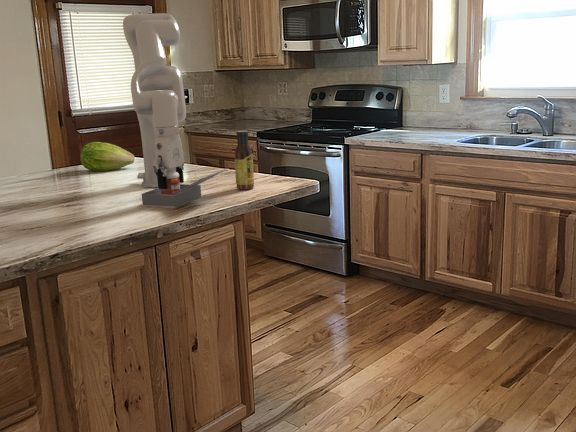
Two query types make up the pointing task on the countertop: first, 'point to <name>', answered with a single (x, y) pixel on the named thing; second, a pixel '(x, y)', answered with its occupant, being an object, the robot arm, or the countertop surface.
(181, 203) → the box
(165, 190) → the pill bottle
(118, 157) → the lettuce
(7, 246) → the countertop surface
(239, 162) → the sauce bottle
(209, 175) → the lid
